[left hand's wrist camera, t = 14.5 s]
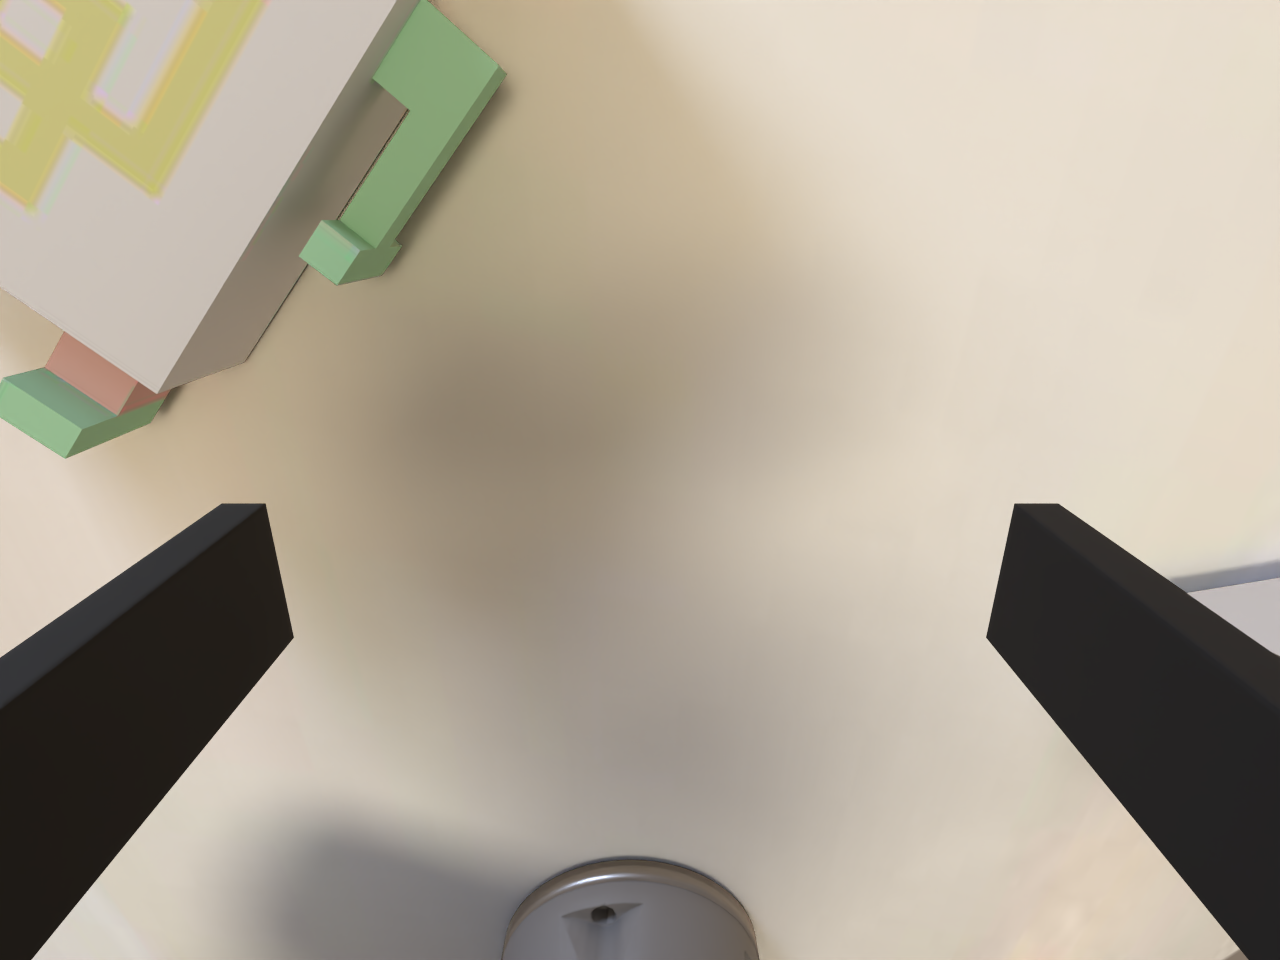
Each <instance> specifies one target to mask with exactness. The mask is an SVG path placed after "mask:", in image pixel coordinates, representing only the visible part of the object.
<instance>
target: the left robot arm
mask: <svg viewBox="0 0 1280 960" xmlns="http://www.w3.org/2000/svg"><path fill="white" fill-rule="evenodd" d="M293 638H294V636H293V632H292V627H291V622H290V617H289V613H288V608H287V603H286V598H285V594H284V589H283V584H282V580H281V575H280V570H279V565H278V561H277V556H276V551H275V546H274V542H273V537H272V532H271V528H270V523H269V518H268V513H267V509H266V504H221V505H219V506H218V507H216V508H215V509H213V510H212V511H210V512H209V513H208V514H206V515H205V516H203V517H202V518H200V519H199V520H198V521H196V522H195V523H193V524H192V525H190V526H189V527H187V528H186V529H185V530H183V531H182V532H180V533H179V534H177V535H176V536H175V537H173V538H172V539H170V540H169V541H167V542H166V543H164V544H163V545H162V546H160V547H159V548H157V549H156V550H154V551H153V552H152V553H150V554H149V555H147V556H146V557H144V558H143V559H141V560H140V561H139V562H137V563H136V564H134V565H133V566H131V567H130V568H129V569H127V570H126V571H124V572H123V573H121V574H120V575H118V576H117V577H116V578H114V579H113V580H111V581H110V582H108V583H107V584H106V585H104V586H103V587H101V588H100V589H98V590H97V591H96V592H94V593H93V594H91V595H90V596H88V597H87V598H85V599H84V600H83V601H81V602H80V603H78V604H77V605H75V606H74V607H73V608H71V609H70V610H68V611H67V612H65V613H64V614H62V615H61V616H60V617H58V618H57V619H55V620H54V621H52V622H51V623H50V624H48V625H47V626H45V627H44V628H42V629H41V630H39V631H38V632H37V633H35V634H34V635H32V636H31V637H29V638H28V639H27V640H25V641H24V642H22V643H21V644H19V645H18V646H16V647H15V648H14V649H12V650H11V651H9V652H8V653H6V654H5V655H4V656H2V657H1V658H0V960H31V959H32V958H33V957H34V956H35V955H36V953H37V952H38V951H39V950H40V948H41V947H42V946H43V945H44V944H45V942H46V941H47V940H48V939H49V937H50V936H51V935H52V934H53V932H54V931H55V930H56V929H57V928H58V926H59V925H60V924H61V923H62V921H63V920H64V919H65V918H66V917H67V915H68V914H69V913H70V912H71V910H72V909H73V908H74V907H75V905H76V904H77V903H78V902H79V901H80V899H81V898H82V897H83V896H84V894H85V893H86V892H87V891H88V890H89V888H90V887H91V886H92V885H93V883H94V882H95V881H96V880H97V878H98V877H99V876H100V875H101V874H102V872H103V871H104V870H105V869H106V867H107V866H108V865H109V864H110V863H111V861H112V860H113V859H114V858H115V856H116V855H117V854H118V853H119V851H120V850H121V849H122V848H123V847H124V845H125V844H126V843H127V842H128V840H129V839H130V838H131V837H132V836H133V834H134V833H135V832H136V831H137V829H138V828H139V827H140V826H141V824H142V823H143V822H144V821H145V820H146V818H147V817H148V816H149V815H150V813H151V812H152V811H153V810H154V809H155V807H156V806H157V805H158V804H159V802H160V801H161V800H162V799H163V797H164V796H165V795H166V794H167V793H168V791H169V790H170V789H171V788H172V786H173V785H174V784H175V783H176V782H177V780H178V779H179V778H180V777H181V775H182V774H183V773H184V772H185V770H186V769H187V768H188V767H189V766H190V764H191V763H192V762H193V761H194V759H195V758H196V757H197V756H198V754H199V753H200V752H201V751H202V750H203V748H204V747H205V746H206V745H207V743H208V742H209V741H210V740H211V739H212V737H213V736H214V735H215V734H216V732H217V731H218V730H219V729H220V727H221V726H222V725H223V724H224V723H225V721H226V720H227V719H228V718H229V716H230V715H231V714H232V713H233V712H234V710H235V709H236V708H237V707H238V705H239V704H240V703H241V702H242V700H243V699H244V698H245V697H246V696H247V694H248V693H249V692H250V691H251V689H252V688H253V687H254V686H255V685H256V683H257V682H258V681H259V680H260V678H261V677H262V676H263V675H264V673H265V672H266V671H267V670H268V669H269V667H270V666H271V665H272V664H273V662H274V661H275V660H276V659H277V658H278V656H279V655H280V654H281V653H282V651H283V650H284V649H285V648H286V646H287V645H288V644H289V643H290V642H291V640H292V639H293ZM986 638H987V639H988V640H989V642H990V643H991V644H992V645H993V646H994V648H995V649H996V650H997V651H998V653H999V654H1000V655H1001V656H1002V658H1003V659H1004V660H1005V661H1006V662H1007V664H1008V665H1009V666H1010V667H1011V669H1012V670H1013V671H1014V672H1015V673H1016V675H1017V676H1018V677H1019V678H1020V680H1021V681H1022V682H1023V683H1024V685H1025V686H1026V687H1027V688H1028V689H1029V691H1030V692H1031V693H1032V694H1033V696H1034V697H1035V698H1036V699H1037V700H1038V702H1039V703H1040V704H1041V705H1042V707H1043V708H1044V709H1045V710H1046V712H1047V713H1048V714H1049V715H1050V716H1051V718H1052V719H1053V720H1054V721H1055V723H1056V724H1057V725H1058V726H1059V727H1060V729H1061V730H1062V731H1063V732H1064V734H1065V735H1066V736H1067V737H1068V739H1069V740H1070V741H1071V742H1072V743H1073V745H1074V746H1075V747H1076V748H1077V750H1078V751H1079V752H1080V753H1081V754H1082V756H1083V757H1084V758H1085V759H1086V761H1087V762H1088V763H1089V764H1090V766H1091V767H1092V768H1093V769H1094V770H1095V772H1096V773H1097V774H1098V775H1099V777H1100V778H1101V779H1102V780H1103V782H1104V783H1105V784H1106V785H1107V786H1108V788H1109V789H1110V790H1111V791H1112V793H1113V794H1114V795H1115V796H1116V797H1117V799H1118V800H1119V801H1120V802H1121V804H1122V805H1123V806H1124V807H1125V809H1126V810H1127V811H1128V812H1129V813H1130V815H1131V816H1132V817H1133V818H1134V820H1135V821H1136V822H1137V823H1138V824H1139V826H1140V827H1141V828H1142V829H1143V831H1144V832H1145V833H1146V834H1147V836H1148V837H1149V838H1150V839H1151V840H1152V842H1153V843H1154V844H1155V845H1156V847H1157V848H1158V849H1159V850H1160V851H1161V853H1162V854H1163V855H1164V856H1165V858H1166V859H1167V860H1168V861H1169V863H1170V864H1171V865H1172V866H1173V867H1174V869H1175V870H1176V871H1177V872H1178V874H1179V875H1180V876H1181V877H1182V878H1183V880H1184V881H1185V882H1186V883H1187V885H1188V886H1189V887H1190V888H1191V890H1192V891H1193V892H1194V893H1195V894H1196V896H1197V897H1198V898H1199V899H1200V901H1201V902H1202V903H1203V904H1204V905H1205V907H1206V908H1207V909H1208V910H1209V912H1210V913H1211V914H1212V915H1213V917H1214V918H1215V919H1216V920H1217V921H1218V923H1219V924H1220V925H1221V926H1222V928H1223V929H1224V930H1225V931H1226V932H1227V934H1228V935H1229V936H1230V937H1231V939H1232V940H1233V941H1234V942H1235V944H1236V945H1237V946H1238V947H1239V948H1240V950H1241V951H1242V952H1243V953H1244V955H1245V956H1246V957H1247V958H1248V959H1249V960H1280V656H1279V655H1277V654H1275V653H1272V652H1271V651H1269V650H1268V649H1266V648H1265V647H1264V646H1262V645H1261V644H1259V643H1258V642H1256V641H1255V640H1253V639H1252V638H1251V637H1249V636H1248V635H1246V634H1245V633H1243V632H1242V631H1241V630H1239V629H1238V628H1236V627H1235V626H1233V625H1232V624H1230V623H1229V622H1228V621H1226V620H1225V619H1223V618H1222V617H1220V616H1219V615H1218V614H1216V613H1215V612H1213V611H1212V610H1210V609H1209V608H1207V607H1206V606H1205V605H1203V604H1202V603H1200V602H1199V601H1197V600H1196V599H1195V598H1193V597H1192V596H1190V595H1189V594H1187V593H1186V592H1184V591H1183V590H1182V589H1180V588H1179V587H1177V586H1176V585H1174V584H1173V583H1172V582H1170V581H1169V580H1167V579H1166V578H1164V577H1163V576H1162V575H1160V574H1159V573H1157V572H1156V571H1154V570H1153V569H1151V568H1150V567H1149V566H1147V565H1146V564H1144V563H1143V562H1141V561H1140V560H1139V559H1137V558H1136V557H1134V556H1133V555H1131V554H1130V553H1128V552H1127V551H1126V550H1124V549H1123V548H1121V547H1120V546H1118V545H1117V544H1116V543H1114V542H1113V541H1111V540H1110V539H1108V538H1107V537H1105V536H1104V535H1103V534H1101V533H1100V532H1098V531H1097V530H1095V529H1094V528H1093V527H1091V526H1090V525H1088V524H1087V523H1085V522H1084V521H1082V520H1081V519H1080V518H1078V517H1077V516H1075V515H1074V514H1072V513H1071V512H1070V511H1068V510H1067V509H1065V508H1064V507H1062V506H1061V505H1060V504H1014V509H1013V513H1012V518H1011V523H1010V528H1009V532H1008V537H1007V542H1006V546H1005V551H1004V556H1003V561H1002V565H1001V570H1000V575H999V580H998V584H997V589H996V594H995V598H994V603H993V608H992V613H991V617H990V622H989V627H988V632H987V636H986ZM501 960H759V955H758V949H757V943H756V937H755V932H754V929H753V925H752V923H751V921H750V919H749V917H748V915H747V913H746V912H745V910H744V909H743V907H742V906H741V905H740V904H739V902H738V901H737V900H736V899H735V898H734V897H733V896H732V895H731V894H730V893H729V892H727V891H726V890H725V889H724V888H722V887H721V886H720V885H718V884H717V883H715V882H713V881H712V880H710V879H708V878H706V877H704V876H703V875H700V874H698V873H696V872H693V871H691V870H688V869H685V868H682V867H679V866H675V865H671V864H667V863H661V862H655V861H646V860H615V861H607V862H600V863H595V864H590V865H586V866H583V867H579V868H576V869H573V870H571V871H568V872H565V873H563V874H561V875H559V876H557V877H555V878H553V879H551V880H550V881H548V882H546V883H545V884H543V885H542V886H540V887H539V888H538V889H536V890H535V891H534V892H533V893H532V894H530V895H529V896H528V897H527V898H526V899H525V900H524V902H523V903H522V904H521V905H520V906H519V908H518V909H517V911H516V912H515V914H514V915H513V917H512V919H511V921H510V924H509V926H508V929H507V933H506V937H505V943H504V948H503V954H502V959H501Z"/></svg>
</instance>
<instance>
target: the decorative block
mask: <svg viewBox="0 0 1280 960" xmlns="http://www.w3.org/2000/svg"><path fill="white" fill-rule="evenodd" d="M506 75H507V74H506V73H505V72H504V71H503V70H502V68H501V67H500V66H499V65H498V64H497V63H496V62H494V61H493V60H492V59H491V58H490V57H489V56H488V55H487V54H486V53H485V52H483V51H482V50H481V49H480V48H479V47H478V46H477V45H476V44H475V43H474V42H473V41H471V40H470V39H469V38H468V37H467V36H466V35H465V34H464V33H463V32H462V31H460V30H459V29H458V28H457V27H456V26H455V25H454V24H453V23H452V22H451V21H449V20H448V19H447V18H446V17H445V16H444V15H443V14H442V13H441V12H440V11H438V10H437V9H436V8H435V7H434V6H433V5H432V4H431V3H430V2H429V1H427V0H0V288H2V289H3V290H5V291H6V292H8V293H9V294H11V295H12V296H13V297H15V298H16V299H18V300H19V301H21V302H22V303H24V304H25V305H27V306H28V307H30V308H31V309H33V310H34V311H35V312H37V313H38V314H40V315H41V316H43V317H44V318H46V319H47V320H49V321H50V322H52V323H53V324H55V325H56V326H57V327H59V328H60V329H62V330H63V331H64V333H63V335H62V337H61V338H60V340H59V342H58V344H57V346H56V348H55V349H54V351H53V353H52V355H51V357H50V359H49V360H48V362H47V364H46V366H45V367H44V368H40V369H36V370H32V371H28V372H24V373H20V374H16V375H12V376H8V377H4V378H3V379H2V381H1V383H0V418H2V419H3V420H5V421H7V422H8V423H10V424H11V425H13V426H14V427H16V428H18V429H19V430H21V431H22V432H24V433H25V434H27V435H29V436H30V437H32V438H33V439H35V440H36V441H38V442H40V443H41V444H43V445H44V446H46V447H47V448H49V449H51V450H52V451H54V452H55V453H57V454H58V455H60V456H62V457H63V458H65V459H66V458H68V457H70V456H73V455H75V454H77V453H80V452H82V451H85V450H87V449H89V448H92V447H94V446H97V445H99V444H101V443H104V442H106V441H109V440H111V439H113V438H116V437H118V436H121V435H123V434H125V433H128V432H130V431H132V430H135V429H137V428H140V427H142V426H144V425H147V424H149V423H151V421H152V419H153V418H154V416H155V415H156V413H157V411H158V410H159V408H160V407H161V405H162V403H163V402H164V400H165V398H166V397H167V395H168V394H169V392H170V390H171V389H172V388H175V387H177V386H180V385H183V384H186V383H188V382H191V381H194V380H197V379H199V378H202V377H205V376H208V375H210V374H213V373H216V372H219V371H221V370H224V369H227V368H230V367H232V366H235V365H238V364H241V363H243V362H245V360H246V359H247V357H248V356H249V354H250V353H251V351H252V349H253V348H254V346H255V345H256V343H257V342H258V340H259V339H260V337H261V336H262V334H263V332H264V331H265V329H266V328H267V326H268V325H269V323H270V322H271V320H272V318H273V317H274V315H275V314H276V312H277V311H278V309H279V308H280V306H281V304H282V303H283V301H284V300H285V298H286V297H287V295H288V294H289V292H290V290H291V289H292V287H293V286H294V284H295V283H296V281H297V280H298V278H299V277H300V275H301V273H302V272H303V270H304V269H305V267H306V266H307V264H309V265H311V266H312V267H313V268H315V269H316V270H317V271H318V272H320V273H321V274H322V275H324V276H325V277H326V278H328V279H329V280H330V281H331V282H333V283H334V284H335V285H342V284H346V283H351V282H355V281H360V280H364V279H369V278H374V277H378V276H382V275H383V273H384V272H385V270H386V269H387V267H388V266H389V265H390V263H391V262H392V260H393V259H394V257H395V256H396V254H397V253H398V251H399V250H400V248H401V247H402V245H401V244H400V243H398V242H397V241H396V240H395V239H396V237H397V236H398V234H399V233H400V231H401V230H402V228H403V227H404V225H405V224H406V223H407V221H408V220H409V218H410V217H411V215H412V214H413V212H414V211H415V209H416V208H417V206H418V205H419V203H420V202H421V200H422V199H423V197H424V196H425V195H426V193H427V192H428V190H429V189H430V187H431V186H432V184H433V183H434V181H435V180H436V178H437V177H438V175H439V174H440V172H441V171H442V169H443V168H444V167H445V165H446V164H447V162H448V161H449V159H450V158H451V156H452V155H453V153H454V152H455V150H456V149H457V147H458V146H459V144H460V143H461V141H462V140H463V138H464V137H465V136H466V134H467V133H468V131H469V130H470V128H471V127H472V125H473V124H474V122H475V121H476V119H477V118H478V116H479V115H480V113H481V112H482V110H483V109H484V108H485V106H486V105H487V103H488V102H489V100H490V99H491V97H492V96H493V94H494V93H495V91H496V90H497V88H498V87H499V85H500V84H501V82H502V81H503V80H504V78H505V77H506ZM407 109H409V110H410V112H409V113H408V115H407V117H406V118H405V120H404V121H403V123H402V124H401V126H400V127H399V129H398V131H397V132H396V134H395V135H394V137H393V138H392V140H391V141H390V143H389V144H388V146H387V148H386V149H385V151H384V152H383V154H382V155H381V157H380V158H379V160H378V161H377V163H376V165H375V166H374V168H373V169H372V171H371V172H370V174H369V175H368V177H367V178H366V180H365V182H364V183H363V185H362V186H361V188H360V189H359V191H358V192H357V194H356V196H355V197H354V199H353V200H352V202H351V203H350V205H349V206H348V208H347V209H346V211H345V213H344V214H343V216H342V217H341V219H340V220H336V219H337V218H338V216H339V214H340V213H341V211H342V210H343V208H344V207H345V205H346V204H347V202H348V200H349V199H350V197H351V196H352V194H353V193H354V191H355V190H356V188H357V186H358V185H359V183H360V182H361V180H362V179H363V177H364V176H365V174H366V173H367V171H368V169H369V168H370V166H371V165H372V163H373V162H374V160H375V159H376V157H377V155H378V154H379V152H380V151H381V149H382V148H383V146H384V145H385V143H386V141H387V140H388V138H389V137H390V135H391V134H392V132H393V131H394V129H395V128H396V126H397V124H398V123H399V121H400V120H401V118H402V117H403V115H404V114H405V112H406V110H407Z"/></svg>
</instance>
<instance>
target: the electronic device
mask: <svg viewBox="0 0 1280 960" xmlns="http://www.w3.org/2000/svg"><path fill="white" fill-rule="evenodd" d="M1187 594H1189V595H1190V596H1192V597H1193V598H1195V599H1196V600H1197V601H1199V602H1200V603H1202V604H1203V605H1205V606H1206V607H1207V608H1209V609H1210V610H1212V611H1213V612H1215V613H1216V614H1218V615H1219V616H1220V617H1222V618H1223V619H1225V620H1226V621H1228V622H1229V623H1230V624H1232V625H1233V626H1235V627H1236V628H1238V629H1239V630H1241V631H1242V632H1243V633H1245V634H1246V635H1248V636H1249V637H1251V638H1252V639H1253V640H1255V641H1256V642H1258V643H1259V644H1261V645H1262V646H1264V647H1265V648H1266V649H1268V650H1269V651H1271V652H1272V653H1275V654H1277V655H1279V656H1280V578H1275V579H1268V580H1262V581H1256V582H1250V583H1244V584H1238V585H1232V586H1226V587H1220V588H1214V589H1208V590H1202V591H1195V592H1189V593H1187Z"/></svg>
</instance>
